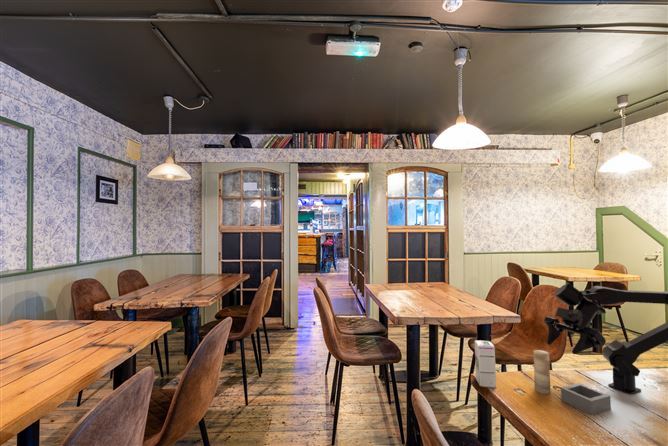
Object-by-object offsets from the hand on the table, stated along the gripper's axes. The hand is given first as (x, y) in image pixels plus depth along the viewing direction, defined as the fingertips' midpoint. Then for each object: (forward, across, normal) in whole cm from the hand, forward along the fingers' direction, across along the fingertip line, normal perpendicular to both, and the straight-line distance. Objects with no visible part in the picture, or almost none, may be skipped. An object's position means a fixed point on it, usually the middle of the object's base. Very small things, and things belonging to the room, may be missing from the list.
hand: (560, 348), depth 110 cm
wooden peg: (+15, 0, +4) cm, 16 cm away
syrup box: (+26, -10, -6) cm, 29 cm away
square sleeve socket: (+12, +10, +8) cm, 17 cm away
